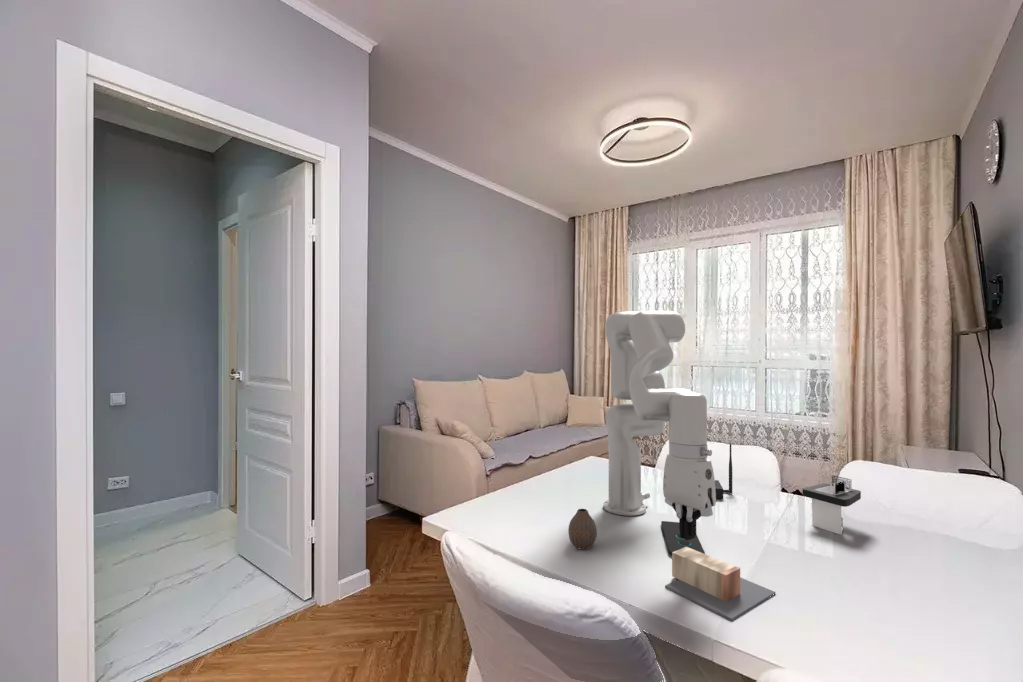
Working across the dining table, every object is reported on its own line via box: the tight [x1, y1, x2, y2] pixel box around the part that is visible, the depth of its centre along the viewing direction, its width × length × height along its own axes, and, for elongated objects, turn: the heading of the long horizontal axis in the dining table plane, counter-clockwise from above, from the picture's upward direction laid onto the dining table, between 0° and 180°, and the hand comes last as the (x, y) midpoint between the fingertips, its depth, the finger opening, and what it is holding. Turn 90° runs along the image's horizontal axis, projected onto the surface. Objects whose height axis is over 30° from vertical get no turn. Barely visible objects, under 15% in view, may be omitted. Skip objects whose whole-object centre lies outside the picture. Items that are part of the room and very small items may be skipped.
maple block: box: [671, 547, 741, 602], centre depth 94 cm, size 5×5×12 cm
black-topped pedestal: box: [801, 474, 862, 535], centre depth 127 cm, size 28×26×13 cm
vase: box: [567, 508, 598, 550], centre depth 113 cm, size 7×7×9 cm
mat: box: [664, 576, 776, 622], centre depth 92 cm, size 16×14×1 cm
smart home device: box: [660, 520, 706, 557], centre depth 116 cm, size 8×2×20 cm
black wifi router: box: [715, 443, 733, 500], centre depth 156 cm, size 20×14×17 cm
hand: (687, 537), depth 97 cm, fingers closed
